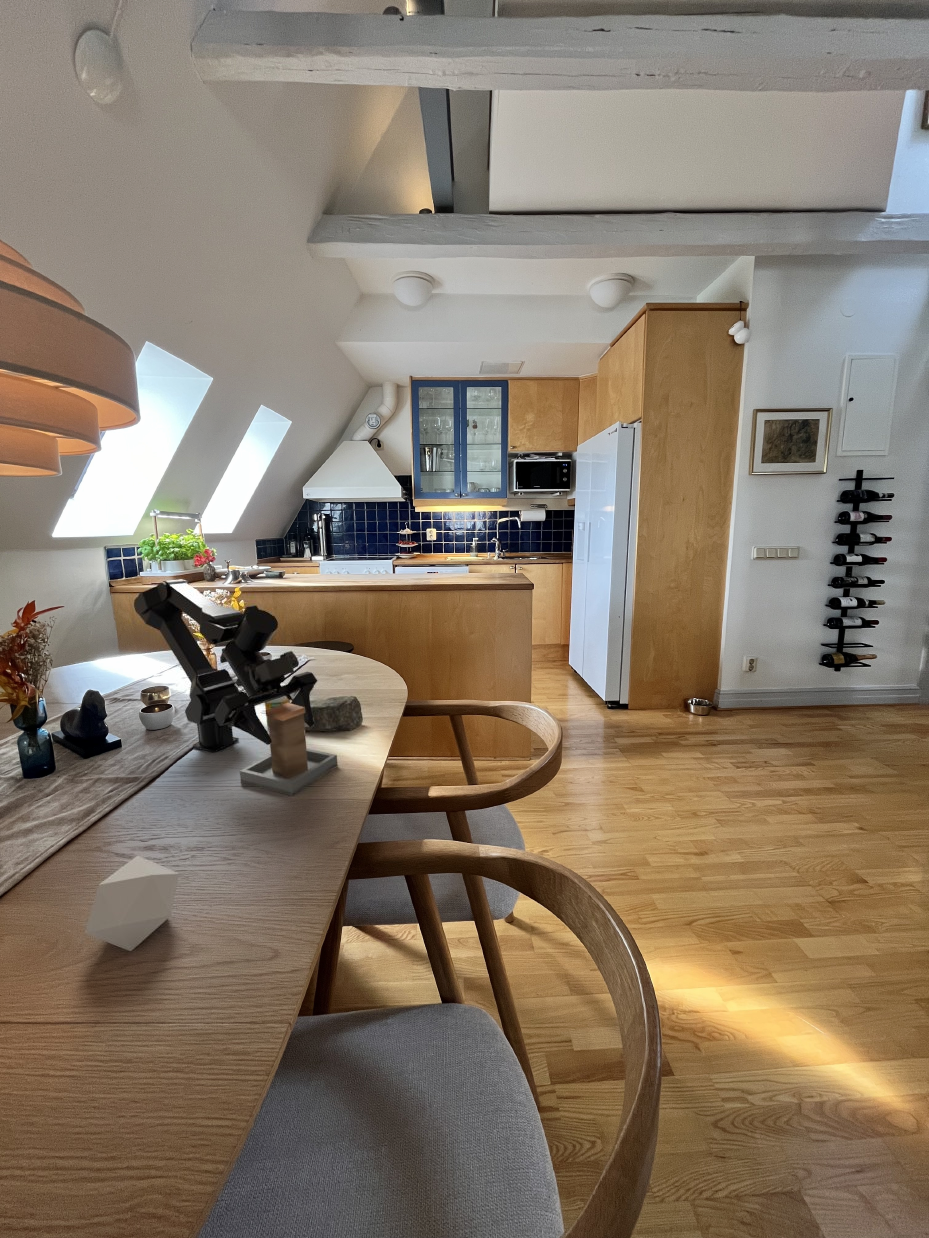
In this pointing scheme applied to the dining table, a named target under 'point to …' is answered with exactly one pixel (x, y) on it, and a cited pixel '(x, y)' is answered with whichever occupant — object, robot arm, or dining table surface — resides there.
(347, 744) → the dining table surface
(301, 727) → the brown block
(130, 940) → the die
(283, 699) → the supplement bottle
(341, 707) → the stone
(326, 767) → the tray
